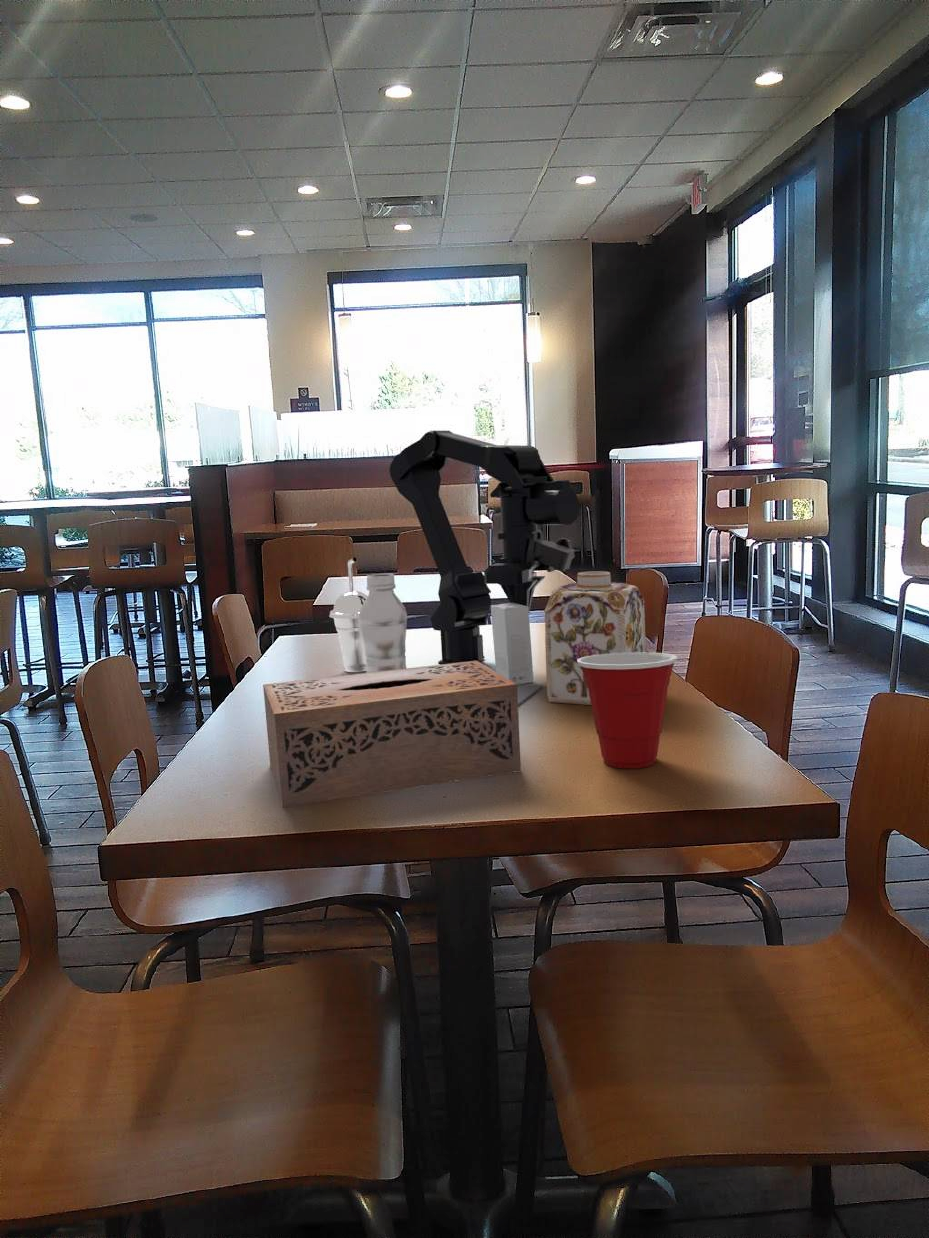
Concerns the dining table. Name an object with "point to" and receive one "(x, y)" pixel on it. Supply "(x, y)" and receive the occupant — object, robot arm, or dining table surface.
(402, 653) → the plastic bottle
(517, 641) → the skincare box
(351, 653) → the cup with straw
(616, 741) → the plastic cup
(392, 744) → the tissue box cover
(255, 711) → the dining table surface
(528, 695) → the mat
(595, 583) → the decorative jar
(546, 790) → the dining table surface
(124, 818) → the dining table surface
